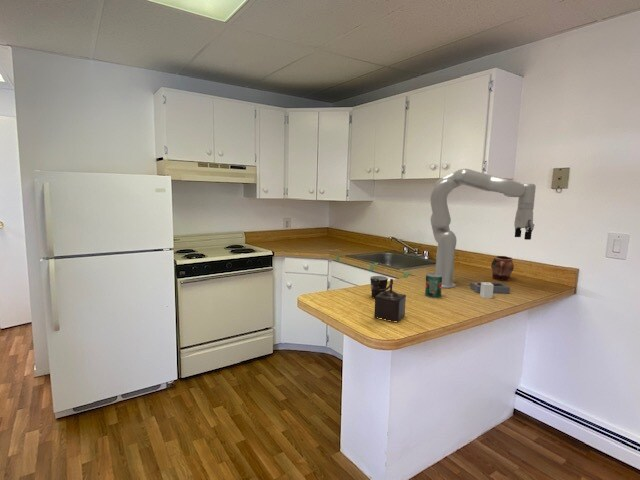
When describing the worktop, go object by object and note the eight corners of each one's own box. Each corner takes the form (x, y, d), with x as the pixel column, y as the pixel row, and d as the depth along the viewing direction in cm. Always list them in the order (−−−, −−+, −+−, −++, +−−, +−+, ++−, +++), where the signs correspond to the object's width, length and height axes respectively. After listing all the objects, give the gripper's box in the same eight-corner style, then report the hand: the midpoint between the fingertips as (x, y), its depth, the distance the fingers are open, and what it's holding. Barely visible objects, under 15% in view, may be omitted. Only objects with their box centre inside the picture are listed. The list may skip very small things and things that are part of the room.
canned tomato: (443, 297, 181) (445, 276, 180) (429, 298, 180) (430, 276, 178) (436, 293, 189) (437, 272, 187) (422, 293, 188) (423, 273, 186)
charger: (483, 298, 182) (484, 284, 181) (480, 295, 186) (481, 282, 185) (492, 298, 182) (493, 284, 181) (488, 295, 186) (489, 282, 185)
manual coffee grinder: (381, 310, 161) (382, 271, 158) (405, 315, 155) (407, 274, 152) (367, 321, 147) (368, 278, 145) (393, 327, 142) (395, 282, 139)
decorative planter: (513, 284, 208) (515, 261, 206) (490, 282, 213) (491, 259, 212) (511, 277, 226) (513, 255, 224) (490, 275, 231) (491, 253, 229)
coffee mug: (385, 300, 175) (386, 280, 174) (367, 298, 178) (368, 278, 177) (389, 294, 186) (390, 275, 184) (372, 292, 189) (373, 273, 187)
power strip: (476, 293, 190) (477, 285, 190) (465, 284, 206) (465, 278, 206) (509, 293, 190) (510, 286, 189) (495, 285, 206) (495, 278, 205)
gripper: (510, 205, 203) (507, 236, 205) (527, 207, 185) (524, 240, 188) (523, 206, 203) (520, 236, 205) (542, 207, 185) (538, 240, 188)
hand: (522, 238), depth 196 cm, fingers open, 9 cm apart
